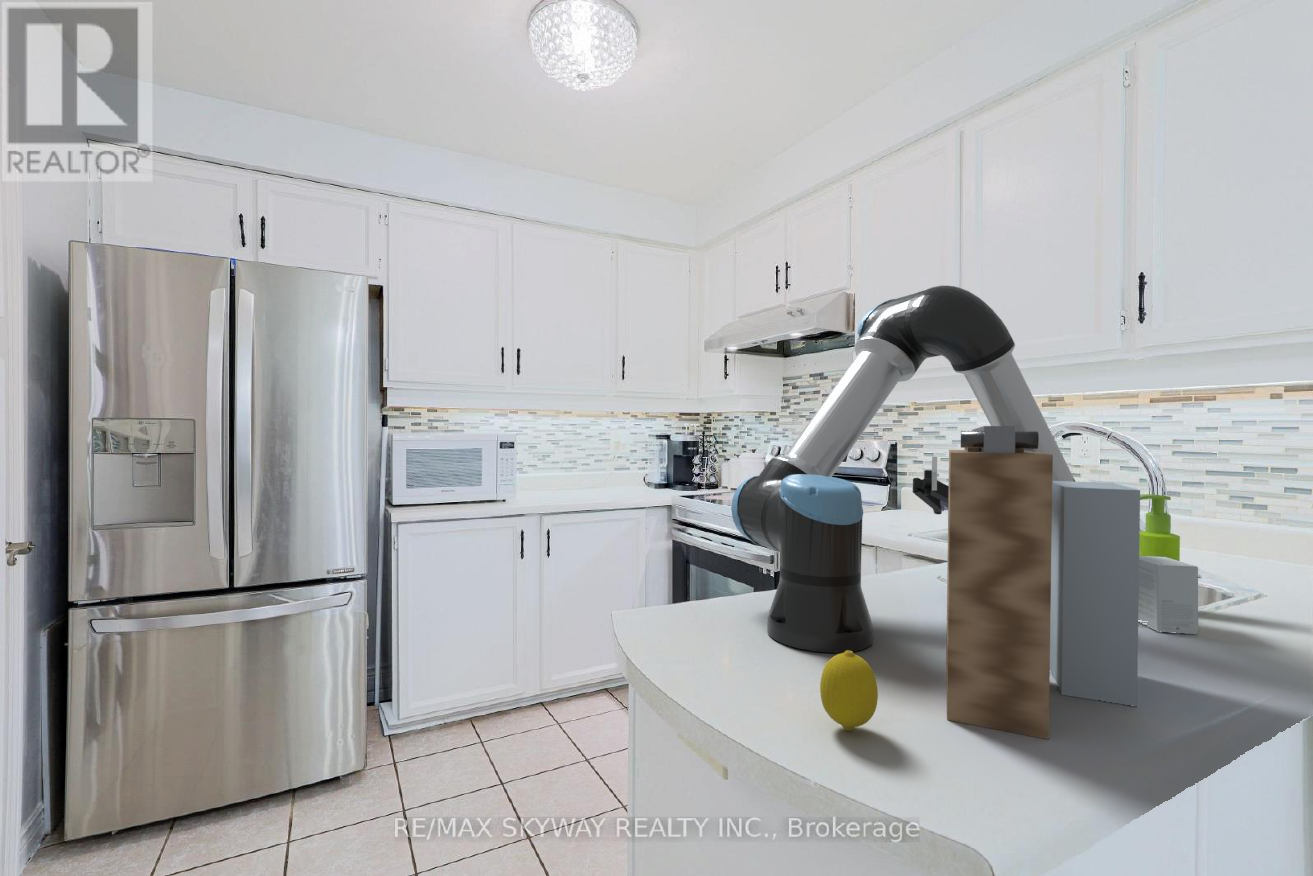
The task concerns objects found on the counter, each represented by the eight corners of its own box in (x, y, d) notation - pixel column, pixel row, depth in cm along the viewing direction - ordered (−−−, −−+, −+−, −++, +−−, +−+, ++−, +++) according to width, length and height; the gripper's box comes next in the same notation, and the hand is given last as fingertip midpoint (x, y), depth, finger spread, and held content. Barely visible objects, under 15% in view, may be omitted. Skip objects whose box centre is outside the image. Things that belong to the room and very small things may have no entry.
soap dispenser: (1121, 603, 109) (1122, 492, 109) (1163, 605, 108) (1165, 493, 108) (1142, 612, 103) (1144, 496, 103) (1187, 614, 102) (1189, 497, 102)
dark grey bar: (961, 452, 63) (961, 426, 63) (955, 448, 89) (956, 429, 89) (1039, 454, 60) (1039, 426, 60) (1010, 449, 86) (1011, 429, 85)
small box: (1198, 636, 91) (1200, 566, 91) (1156, 633, 92) (1157, 564, 92) (1165, 620, 99) (1166, 556, 99) (1127, 617, 100) (1127, 554, 100)
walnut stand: (946, 719, 63) (950, 442, 63) (946, 662, 79) (949, 442, 79) (1048, 739, 59) (1052, 444, 59) (1025, 674, 75) (1029, 443, 75)
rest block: (1061, 694, 69) (1064, 487, 69) (1045, 660, 80) (1048, 480, 80) (1137, 707, 66) (1140, 490, 66) (1109, 669, 77) (1112, 482, 77)
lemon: (811, 718, 63) (812, 642, 63) (862, 716, 63) (863, 641, 63) (831, 745, 57) (832, 661, 57) (887, 743, 58) (888, 660, 58)
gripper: (1060, 547, 100) (1086, 492, 84) (900, 535, 111) (894, 484, 94) (1057, 506, 104) (1081, 445, 87) (901, 498, 114) (896, 442, 98)
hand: (984, 465), depth 91 cm, fingers open, 13 cm apart
